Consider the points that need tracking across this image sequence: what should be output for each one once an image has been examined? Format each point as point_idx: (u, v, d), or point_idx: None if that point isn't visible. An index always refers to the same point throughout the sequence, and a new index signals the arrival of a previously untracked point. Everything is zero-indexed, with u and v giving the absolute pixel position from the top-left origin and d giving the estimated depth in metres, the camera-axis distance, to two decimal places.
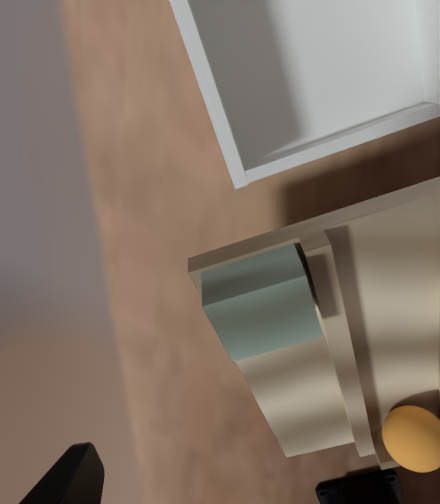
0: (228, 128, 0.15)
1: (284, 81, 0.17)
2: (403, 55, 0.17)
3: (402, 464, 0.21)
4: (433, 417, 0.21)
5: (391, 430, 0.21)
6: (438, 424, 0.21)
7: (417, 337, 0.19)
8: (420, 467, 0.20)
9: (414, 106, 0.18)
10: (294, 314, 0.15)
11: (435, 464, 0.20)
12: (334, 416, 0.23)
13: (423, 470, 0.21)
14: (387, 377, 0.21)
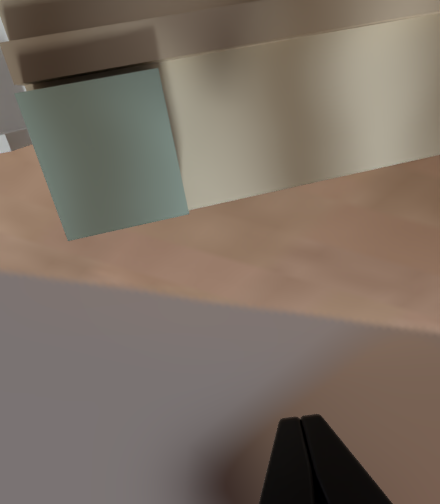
0: None
1: None
2: None
3: None
4: None
5: None
6: None
7: None
8: None
9: None
10: (97, 115, 0.10)
11: None
12: None
13: None
14: None
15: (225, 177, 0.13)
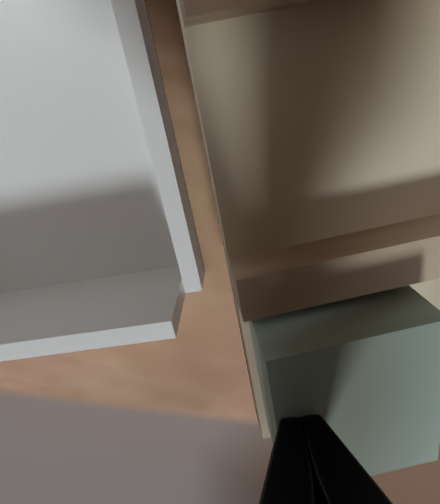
0: (89, 333, 0.11)
1: (77, 201, 0.13)
2: (40, 17, 0.11)
3: None
4: None
5: None
6: None
7: None
8: None
9: None
10: (359, 373, 0.07)
11: None
12: None
13: None
14: None
15: None
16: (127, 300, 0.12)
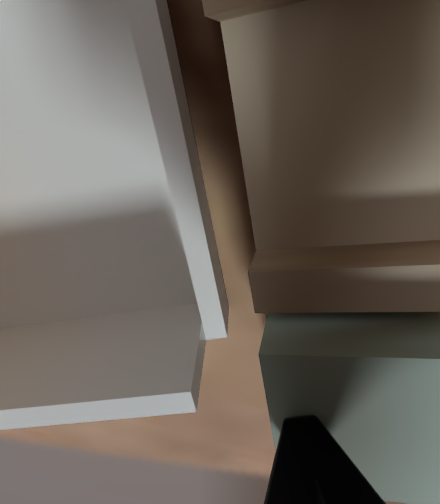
0: (84, 404, 0.08)
1: (73, 225, 0.10)
2: None
3: None
4: None
5: None
6: None
7: None
8: None
9: None
10: (360, 392, 0.07)
11: None
12: None
13: None
14: None
15: None
16: (134, 352, 0.10)
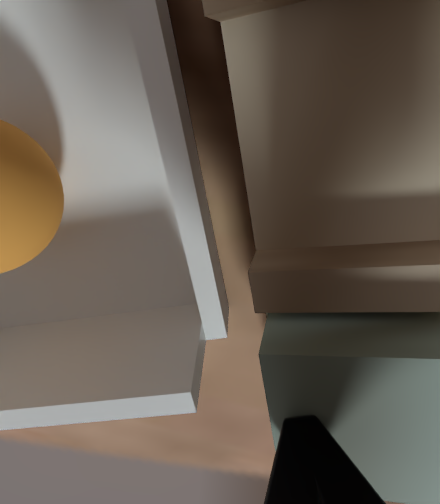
0: (83, 404, 0.08)
1: (72, 225, 0.10)
2: None
3: None
4: None
5: None
6: None
7: None
8: None
9: None
10: (359, 391, 0.07)
11: None
12: None
13: None
14: None
15: None
16: (133, 353, 0.10)
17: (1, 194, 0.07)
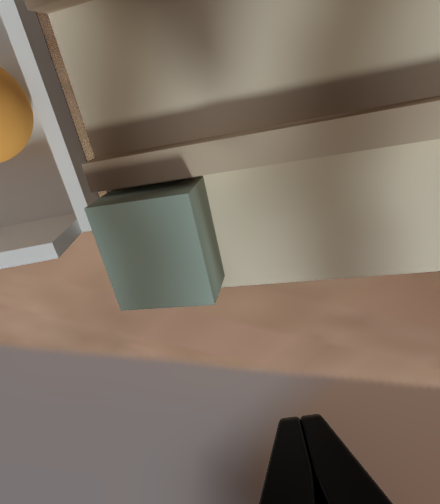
0: None
1: None
2: None
3: None
4: None
5: None
6: None
7: None
8: None
9: None
10: (141, 225, 0.12)
11: None
12: None
13: None
14: None
15: (264, 263, 0.14)
16: (26, 235, 0.14)
17: None
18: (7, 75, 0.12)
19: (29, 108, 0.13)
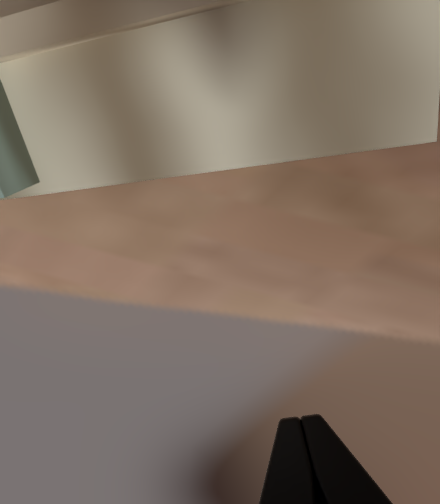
0: None
1: None
2: None
3: None
4: None
5: None
6: None
7: None
8: None
9: None
10: None
11: None
12: (295, 21, 0.11)
13: None
14: None
15: (71, 167, 0.14)
16: None
17: None
18: None
19: None
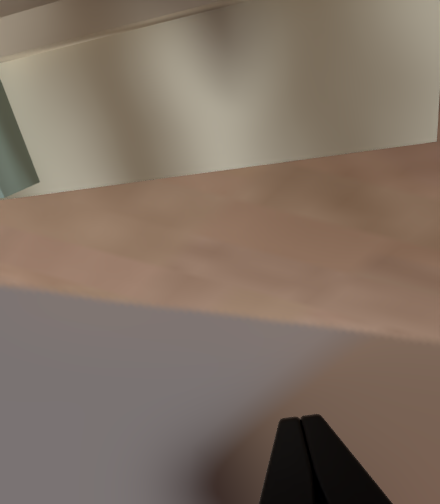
0: None
1: None
2: None
3: None
4: None
5: None
6: None
7: None
8: None
9: None
10: None
11: None
12: (295, 21, 0.11)
13: None
14: None
15: (71, 167, 0.14)
16: None
17: None
18: None
19: None
